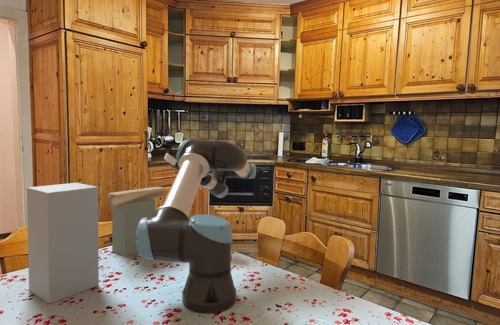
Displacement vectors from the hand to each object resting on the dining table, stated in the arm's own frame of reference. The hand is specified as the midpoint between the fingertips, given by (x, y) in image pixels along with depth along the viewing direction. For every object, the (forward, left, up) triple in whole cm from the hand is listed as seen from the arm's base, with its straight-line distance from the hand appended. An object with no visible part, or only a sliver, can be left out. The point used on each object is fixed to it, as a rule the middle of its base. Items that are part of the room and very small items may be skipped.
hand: (176, 156), depth 138 cm
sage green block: (+6, +16, -37) cm, 41 cm away
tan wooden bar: (+6, +15, -17) cm, 24 cm away
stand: (-6, +49, -37) cm, 62 cm away
